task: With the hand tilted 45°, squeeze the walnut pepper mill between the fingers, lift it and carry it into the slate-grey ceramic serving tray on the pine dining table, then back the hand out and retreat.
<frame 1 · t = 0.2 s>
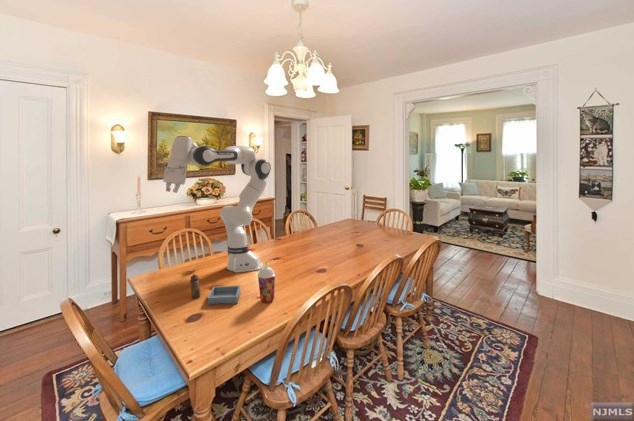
hand: (171, 192, 162), 52 cm above the table, tool tilted 20°, fingers open, 8 cm apart
pepper mill: (195, 297, 158), on the table
smoothie: (267, 300, 154), on the table
serving tray: (225, 298, 156), on the table
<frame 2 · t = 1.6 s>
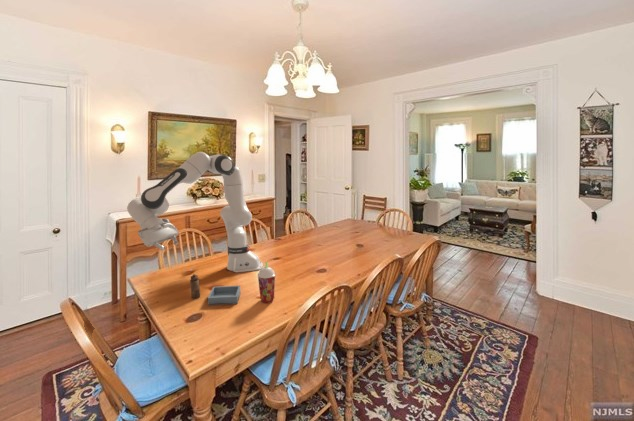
hand: (170, 246, 157), 25 cm above the table, tool tilted 45°, fingers open, 8 cm apart
nothing on the table moved.
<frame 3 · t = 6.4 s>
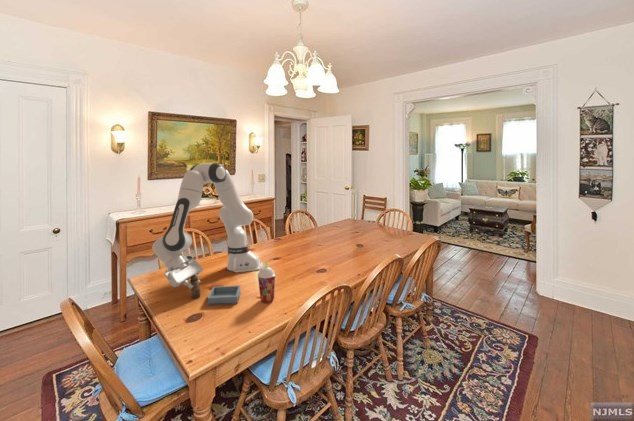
hand: (196, 285, 157), 6 cm above the table, tool tilted 45°, fingers closed on pepper mill, 4 cm apart
pepper mill: (195, 297, 158), on the table, touching gripper
everything else where it was.
when the fingers open (9 cm above the table, at t = 11.7 s): pepper mill drops 1 cm, resting on serving tray.
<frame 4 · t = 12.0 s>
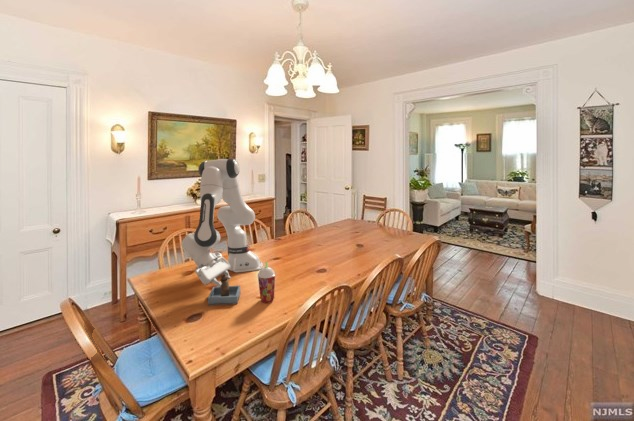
hand: (225, 282, 155), 9 cm above the table, tool tilted 45°, fingers open, 7 cm apart
pepper mill: (225, 297, 156), point 1 cm above the table, touching serving tray
everything else where it was.
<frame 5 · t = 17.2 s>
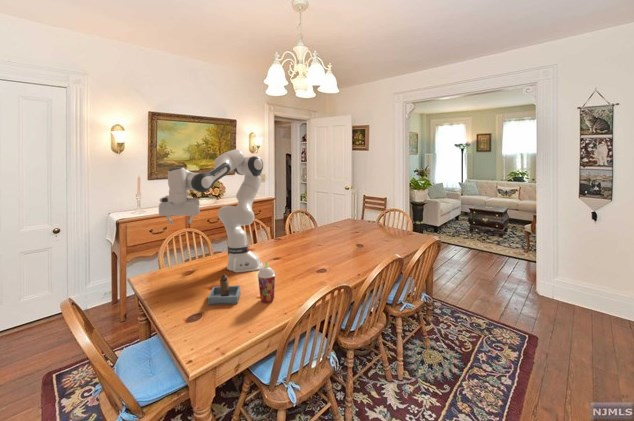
hand: (180, 223, 168), 34 cm above the table, tool pointing down, fingers open, 8 cm apart
nothing on the table moved.
at the end: pepper mill inside the target area on the serving tray (0.1 cm from its centre), point 0.8 cm above the serving tray's base; pepper mill tilted 0°; the gripper is holding nothing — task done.
